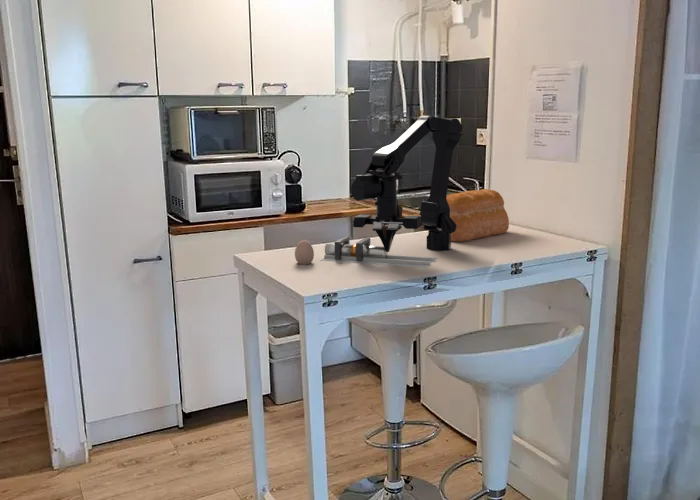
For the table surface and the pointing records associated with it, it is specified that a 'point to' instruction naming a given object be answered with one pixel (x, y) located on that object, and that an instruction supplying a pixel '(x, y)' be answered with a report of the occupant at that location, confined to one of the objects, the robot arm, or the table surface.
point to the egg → (304, 252)
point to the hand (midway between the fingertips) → (387, 251)
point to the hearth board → (387, 260)
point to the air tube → (351, 250)
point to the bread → (477, 214)
